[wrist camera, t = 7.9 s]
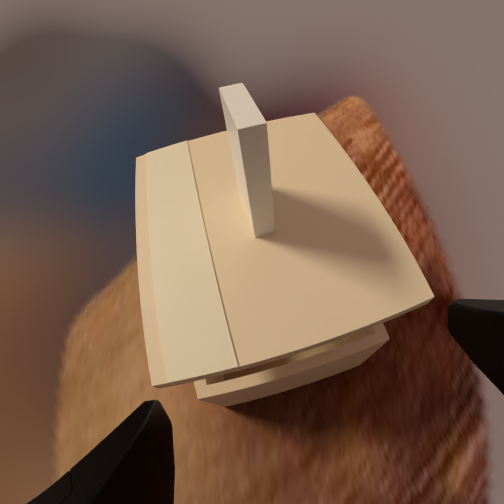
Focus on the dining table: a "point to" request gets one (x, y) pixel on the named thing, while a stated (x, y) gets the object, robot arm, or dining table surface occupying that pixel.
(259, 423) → the dining table surface
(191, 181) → the carton lid
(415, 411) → the dining table surface
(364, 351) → the carton
